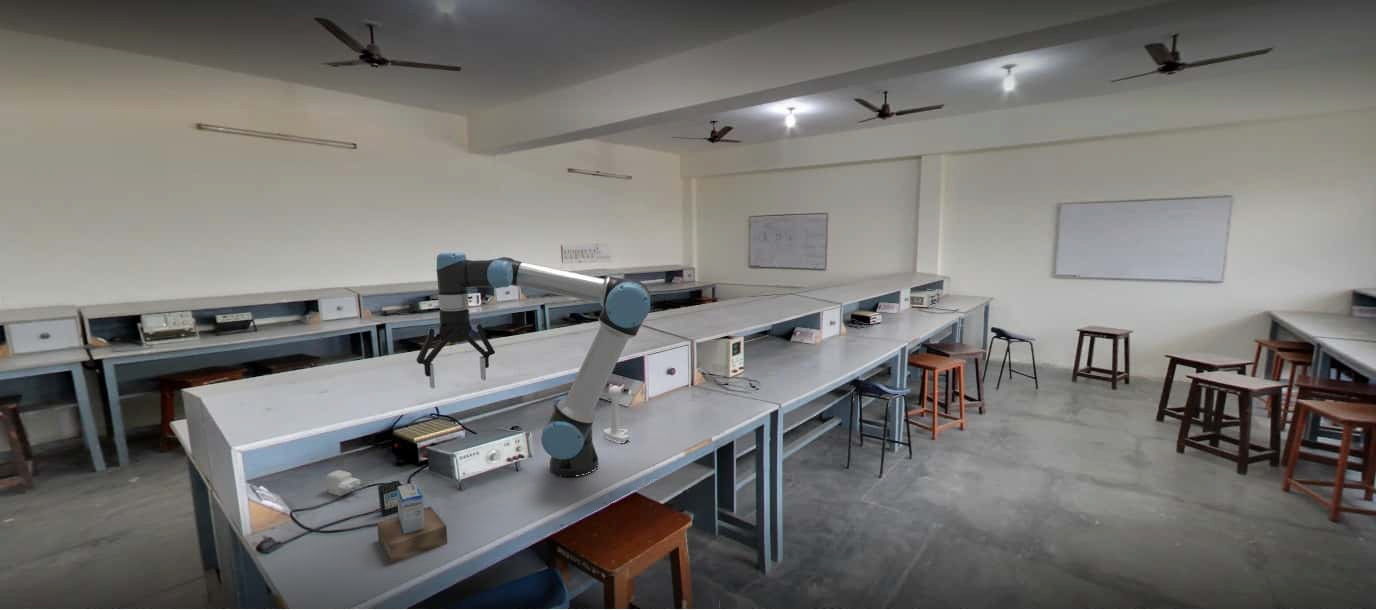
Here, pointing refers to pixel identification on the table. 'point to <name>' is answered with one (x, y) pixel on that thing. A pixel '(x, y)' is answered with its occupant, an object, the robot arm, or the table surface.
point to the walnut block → (411, 537)
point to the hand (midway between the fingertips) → (458, 383)
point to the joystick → (615, 418)
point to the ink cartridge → (388, 498)
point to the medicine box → (410, 508)
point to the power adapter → (341, 483)
